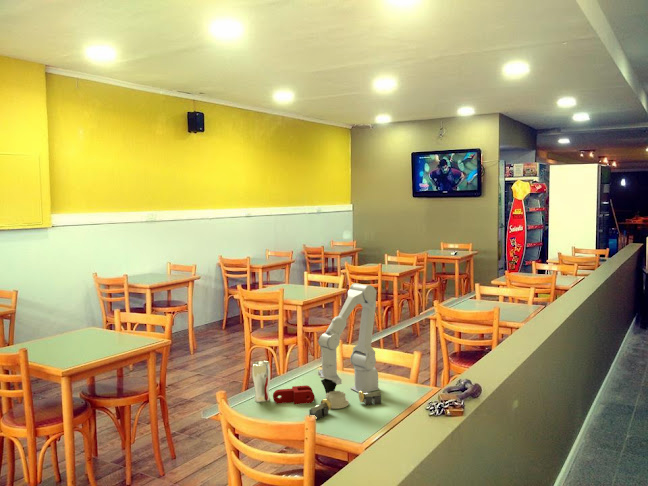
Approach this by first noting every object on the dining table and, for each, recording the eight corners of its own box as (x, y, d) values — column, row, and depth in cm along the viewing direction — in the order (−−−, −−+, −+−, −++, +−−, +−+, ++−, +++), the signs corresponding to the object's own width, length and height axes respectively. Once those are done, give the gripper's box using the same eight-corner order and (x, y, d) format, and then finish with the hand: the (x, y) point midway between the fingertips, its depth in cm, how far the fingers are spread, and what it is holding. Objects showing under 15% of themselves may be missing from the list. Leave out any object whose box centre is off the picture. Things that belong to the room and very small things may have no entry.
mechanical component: (320, 408, 222) (346, 410, 221) (320, 397, 222) (346, 398, 220) (325, 399, 232) (350, 400, 230) (325, 388, 232) (350, 389, 230)
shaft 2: (361, 406, 224) (361, 392, 224) (358, 402, 228) (358, 389, 228) (381, 404, 226) (381, 391, 225) (378, 400, 230) (378, 387, 229)
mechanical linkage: (312, 397, 236) (311, 385, 236) (314, 403, 229) (314, 390, 229) (272, 400, 233) (272, 388, 233) (274, 406, 226) (273, 394, 226)
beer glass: (274, 398, 235) (273, 361, 234) (265, 403, 229) (264, 366, 228) (259, 395, 238) (258, 359, 237) (250, 401, 232) (248, 364, 231)
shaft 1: (322, 411, 220) (322, 397, 220) (331, 413, 217) (331, 400, 217) (308, 417, 214) (308, 403, 213) (317, 420, 211) (317, 406, 211)
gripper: (311, 361, 234) (312, 394, 235) (330, 370, 222) (330, 405, 223) (326, 358, 238) (327, 390, 239) (345, 366, 225) (346, 401, 226)
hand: (330, 397), depth 231 cm, fingers closed
